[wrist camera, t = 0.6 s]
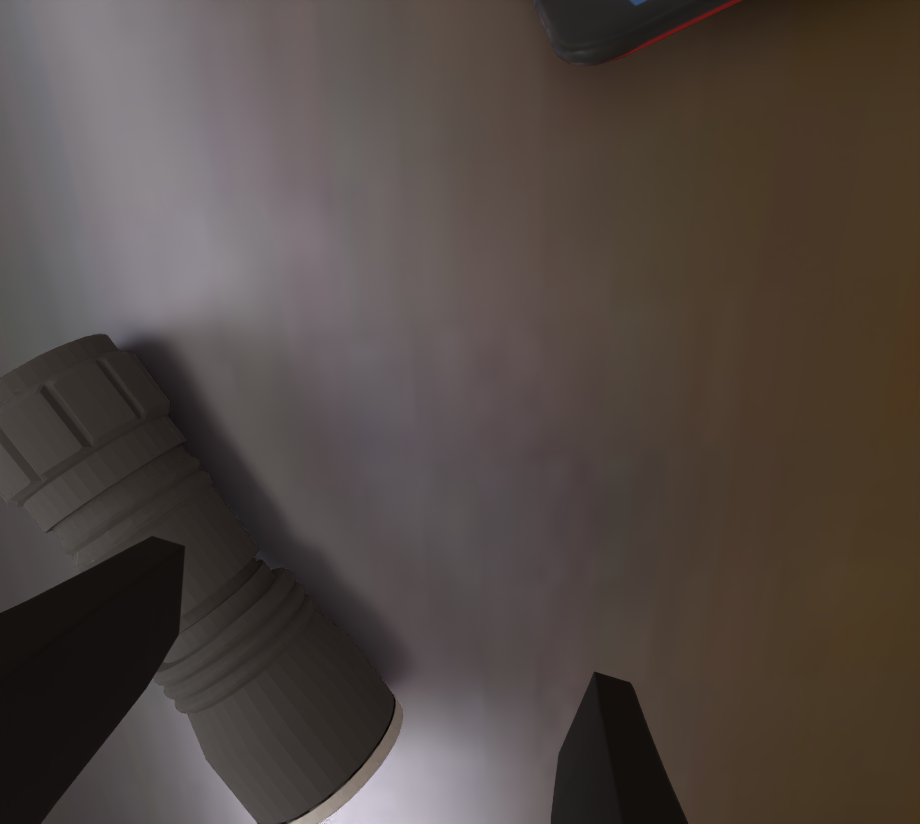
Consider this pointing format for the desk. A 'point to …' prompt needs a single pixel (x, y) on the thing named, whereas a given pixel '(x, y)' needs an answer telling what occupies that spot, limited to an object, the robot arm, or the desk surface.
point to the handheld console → (617, 25)
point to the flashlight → (197, 584)
